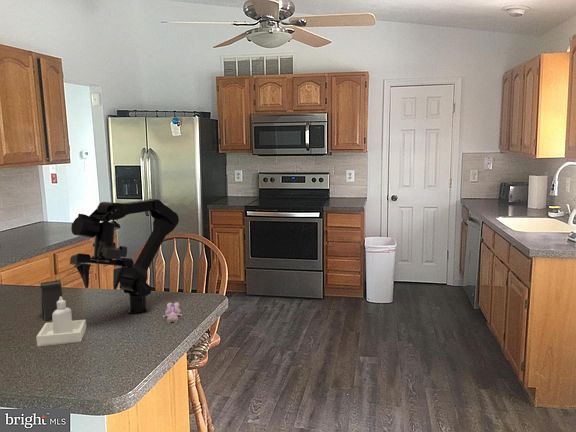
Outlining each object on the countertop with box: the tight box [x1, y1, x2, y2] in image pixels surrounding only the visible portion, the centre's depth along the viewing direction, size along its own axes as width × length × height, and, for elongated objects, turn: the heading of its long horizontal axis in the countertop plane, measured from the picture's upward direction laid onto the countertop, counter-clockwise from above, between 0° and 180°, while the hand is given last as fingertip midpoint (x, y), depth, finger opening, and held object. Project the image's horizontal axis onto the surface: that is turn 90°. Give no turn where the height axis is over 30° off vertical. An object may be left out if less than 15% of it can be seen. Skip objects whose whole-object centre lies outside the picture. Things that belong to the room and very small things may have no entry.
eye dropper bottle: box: [51, 296, 73, 334], centre depth 145 cm, size 4×6×12 cm
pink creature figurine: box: [162, 301, 183, 326], centre depth 163 cm, size 6×6×15 cm
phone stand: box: [40, 280, 63, 322], centre depth 164 cm, size 9×6×12 cm, turn 34°
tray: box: [36, 319, 87, 347], centre depth 146 cm, size 12×12×3 cm
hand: (101, 288), depth 152 cm, fingers open, 9 cm apart
